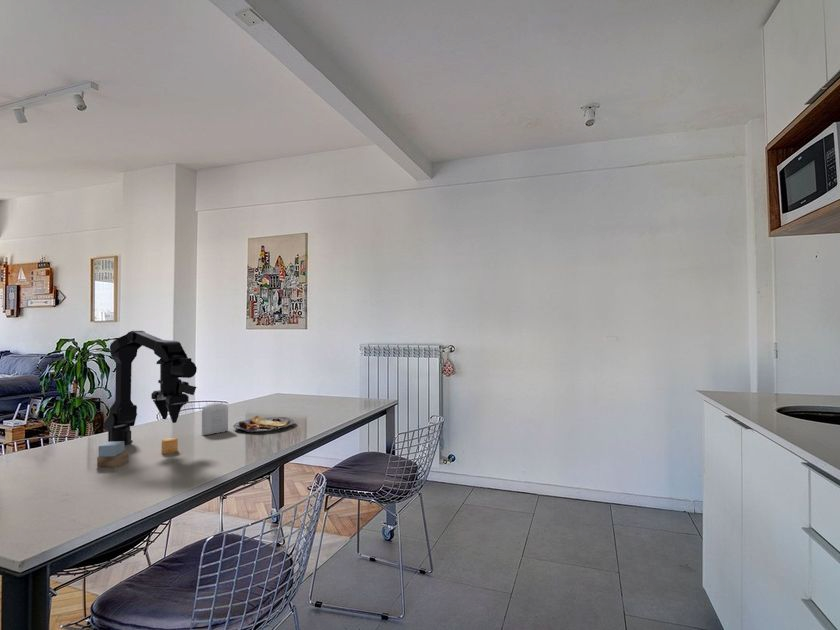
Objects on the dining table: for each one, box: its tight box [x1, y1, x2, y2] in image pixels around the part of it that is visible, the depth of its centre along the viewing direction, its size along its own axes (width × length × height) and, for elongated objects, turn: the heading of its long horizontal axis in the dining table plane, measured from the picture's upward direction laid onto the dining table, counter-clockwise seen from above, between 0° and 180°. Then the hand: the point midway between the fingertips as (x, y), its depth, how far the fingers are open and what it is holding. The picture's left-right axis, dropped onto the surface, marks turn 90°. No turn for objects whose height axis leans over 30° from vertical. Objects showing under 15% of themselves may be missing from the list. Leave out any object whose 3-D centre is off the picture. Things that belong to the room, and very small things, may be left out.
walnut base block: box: [96, 450, 129, 468], centre depth 142 cm, size 6×6×4 cm
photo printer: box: [201, 402, 229, 436], centre depth 182 cm, size 10×4×12 cm, turn 134°
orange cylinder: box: [161, 437, 179, 455], centre depth 155 cm, size 5×5×4 cm
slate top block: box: [98, 441, 125, 457], centre depth 142 cm, size 5×5×4 cm
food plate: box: [233, 415, 296, 433], centre depth 191 cm, size 25×23×4 cm
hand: (169, 420), depth 155 cm, fingers open, 9 cm apart
